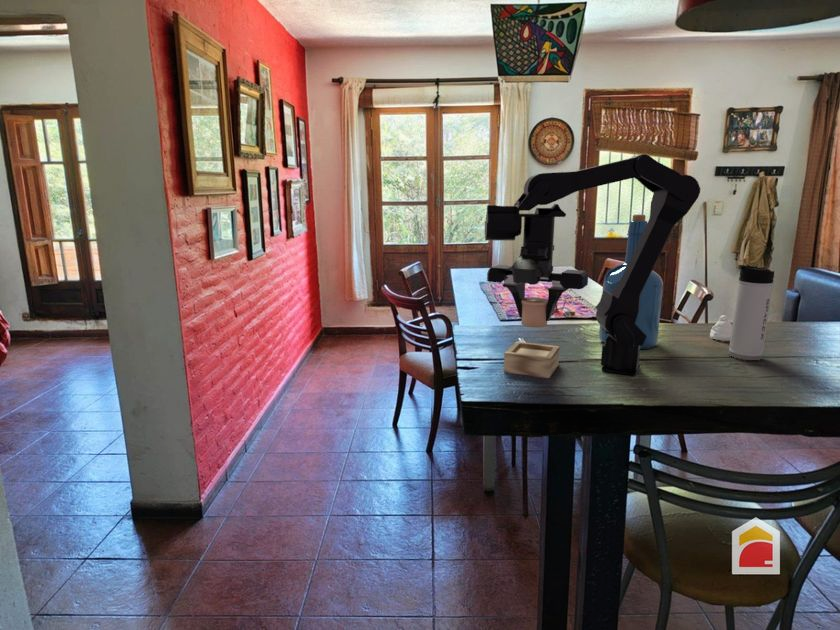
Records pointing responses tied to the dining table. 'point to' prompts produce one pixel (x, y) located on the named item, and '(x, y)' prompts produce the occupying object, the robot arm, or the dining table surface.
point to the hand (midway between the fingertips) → (534, 319)
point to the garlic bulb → (722, 329)
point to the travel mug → (751, 313)
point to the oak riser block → (531, 359)
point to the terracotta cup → (534, 311)
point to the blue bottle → (650, 293)
